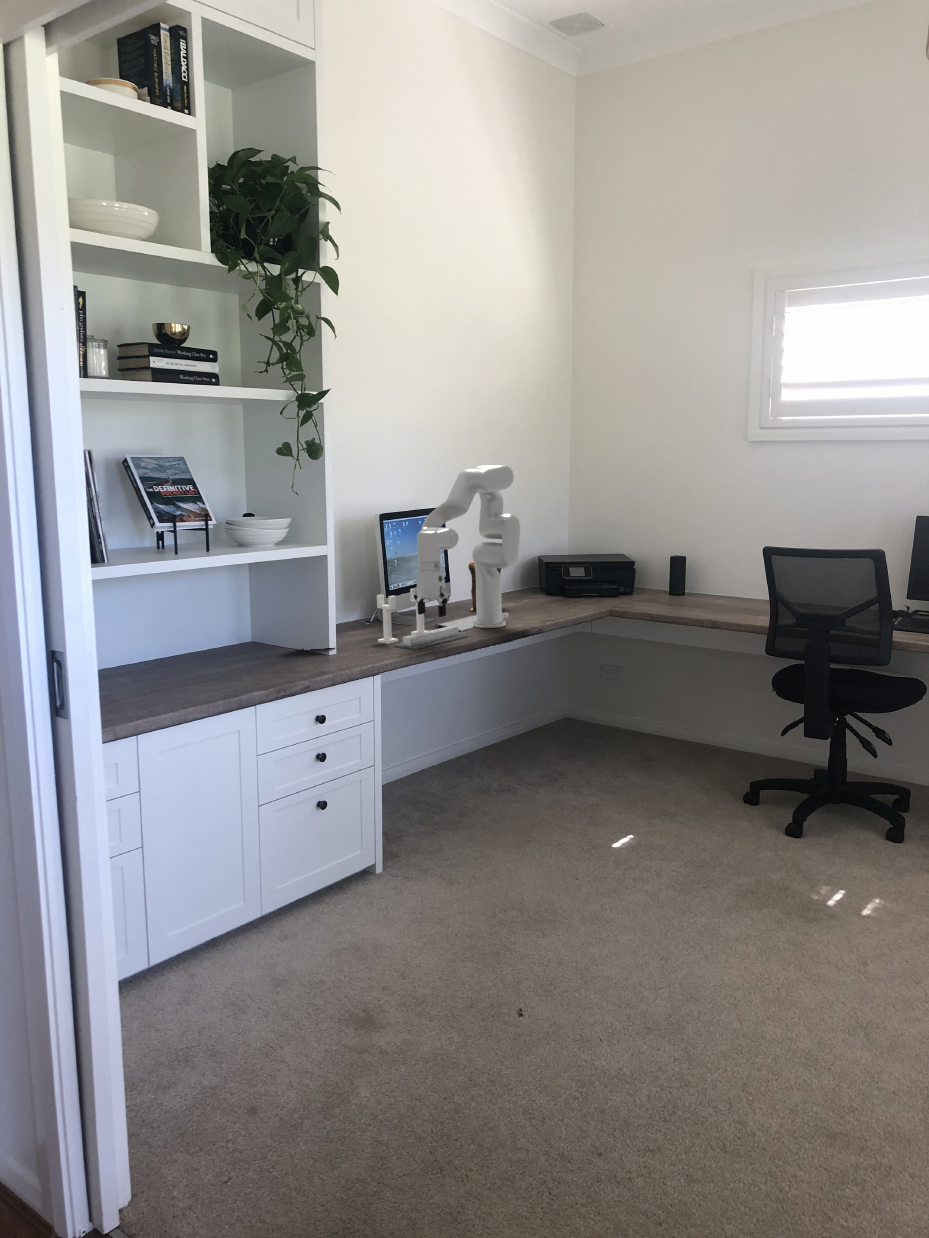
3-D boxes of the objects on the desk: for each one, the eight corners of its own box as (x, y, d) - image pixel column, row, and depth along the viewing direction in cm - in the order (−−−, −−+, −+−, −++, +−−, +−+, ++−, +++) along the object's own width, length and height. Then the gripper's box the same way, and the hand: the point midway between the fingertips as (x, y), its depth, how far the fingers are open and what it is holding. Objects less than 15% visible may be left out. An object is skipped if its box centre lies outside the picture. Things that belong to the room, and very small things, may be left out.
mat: (446, 634, 346) (446, 632, 346) (467, 637, 339) (467, 635, 339) (394, 646, 325) (394, 645, 325) (415, 650, 319) (415, 648, 319)
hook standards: (418, 632, 351) (417, 588, 348) (432, 634, 347) (431, 589, 344) (375, 642, 335) (373, 595, 332) (389, 644, 330) (388, 597, 327)
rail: (451, 634, 343) (451, 625, 342) (458, 635, 341) (458, 626, 340) (403, 645, 324) (402, 637, 324) (410, 646, 322) (410, 638, 321)
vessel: (507, 606, 404) (505, 560, 401) (500, 613, 391) (498, 564, 387) (474, 606, 408) (472, 560, 404) (466, 612, 394) (464, 564, 391)
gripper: (455, 566, 325) (457, 615, 329) (418, 563, 336) (421, 611, 340) (440, 569, 320) (443, 619, 323) (403, 566, 331) (406, 614, 334)
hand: (432, 615), depth 331 cm, fingers open, 9 cm apart
